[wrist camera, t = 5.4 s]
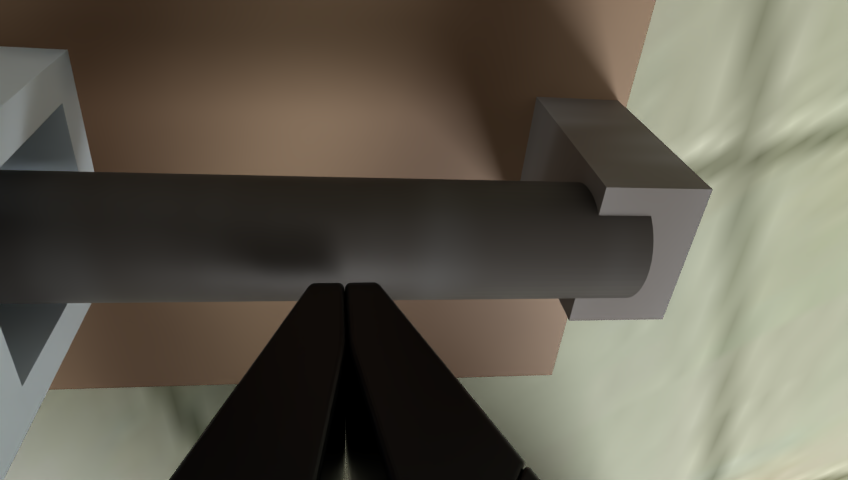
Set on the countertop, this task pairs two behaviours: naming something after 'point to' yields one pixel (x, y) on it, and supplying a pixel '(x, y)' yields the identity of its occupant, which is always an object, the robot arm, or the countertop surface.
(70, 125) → the white sleeve
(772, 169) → the countertop surface
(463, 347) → the dumbbell on board
